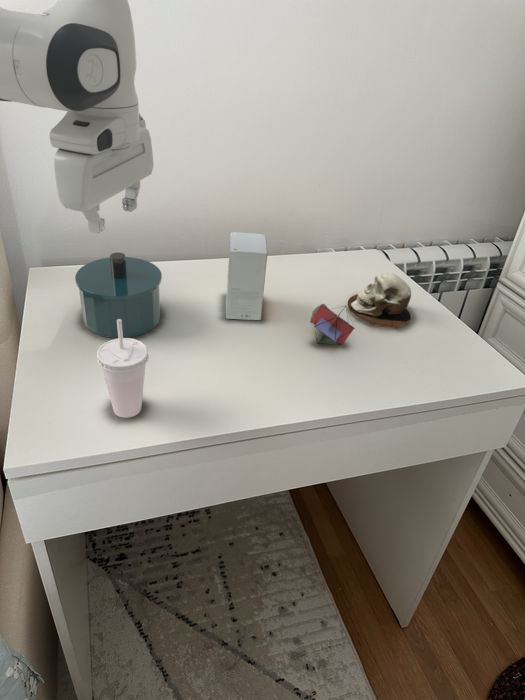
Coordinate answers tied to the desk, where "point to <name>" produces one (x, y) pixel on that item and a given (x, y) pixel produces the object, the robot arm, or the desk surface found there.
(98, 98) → the robot arm
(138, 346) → the smoothie
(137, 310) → the pot
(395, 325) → the skull
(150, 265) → the lid
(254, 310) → the small box
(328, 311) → the geometric puzzle
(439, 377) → the desk surface
